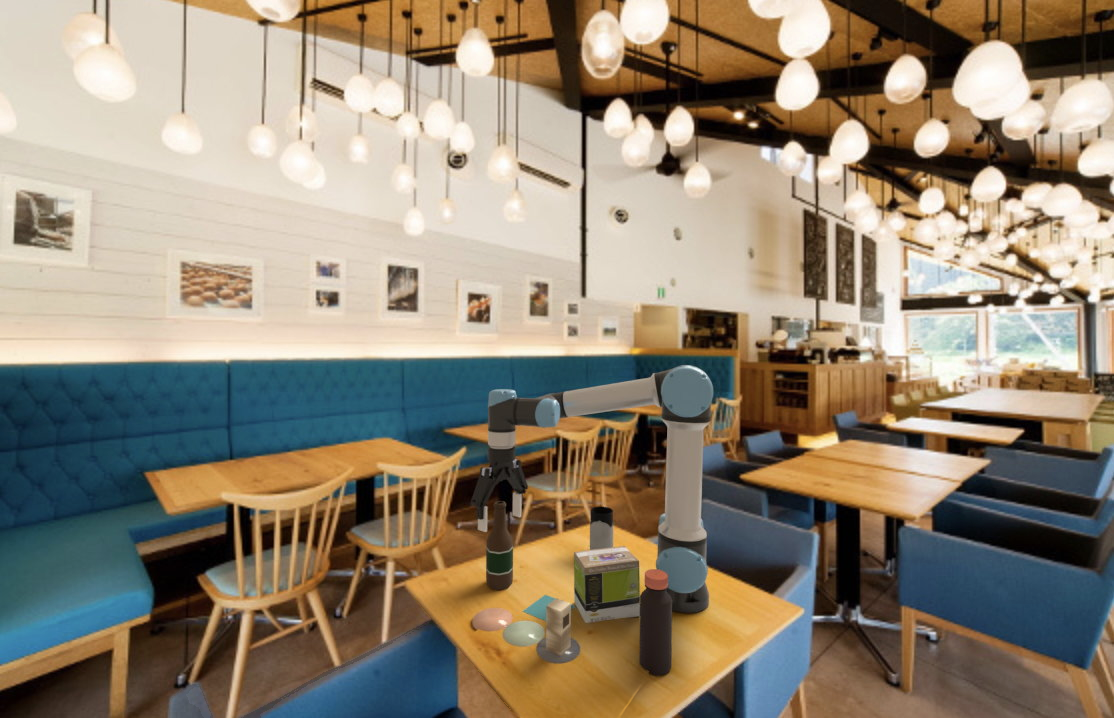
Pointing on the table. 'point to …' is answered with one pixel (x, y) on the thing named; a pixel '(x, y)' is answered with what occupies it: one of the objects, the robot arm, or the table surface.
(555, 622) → the letter block
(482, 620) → the pink round disc
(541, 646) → the grey flat round disc
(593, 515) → the black and grey mug
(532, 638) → the saucer middle
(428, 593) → the table surface
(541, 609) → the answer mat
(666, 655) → the vinegar
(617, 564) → the coffee pod box
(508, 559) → the beer bottle
